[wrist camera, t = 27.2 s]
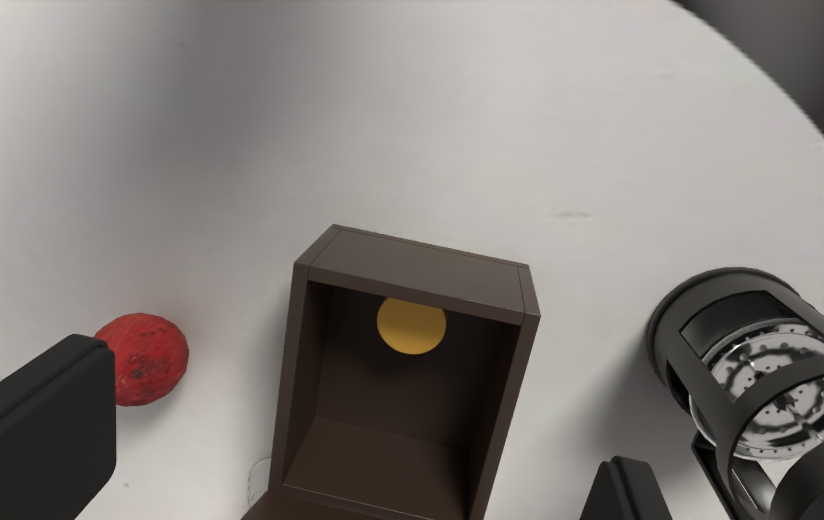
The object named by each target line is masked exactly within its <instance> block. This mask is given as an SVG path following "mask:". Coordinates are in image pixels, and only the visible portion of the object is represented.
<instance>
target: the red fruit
mask: <svg viewBox="0 0 824 520" xmlns="http://www.w3.org/2000/svg"><path fill="white" fill-rule="evenodd" d="M94 338H97V339H101V340H104V341H106V342H107V344H108V347H109V349H110V350H112V351H114V353H115V376H116V405H120V406H126V407H127V406H140V405H146V404H149V403H151V402H153V401H155V400H157V399H160V398H162V397H164V396H165V395H167V394H168V393H169V392H171V391H172V390H173V389H174V387H175V386H176V385H177V383H178V382H179V381H180V379H181V378H182V376H183V375H184V373H185V372H186V367H187V362H188V357H189V349H188V345H187V342H186V339H185V336H184V335H183V333H182V332H181V331H180V330H179V329H178V328H177V327H176V325H175V324H173V323H171V322H169V321H168V320H166V319H164V318H162V317H159V316H154V315H149V314H144V313H136V314H129V315H124V316H122V317H119V318H117V319H115V320H113V321H112V322H110V323H109V324H107V325H106V326H104V327H103V328H101V329H100V330H99V331H98V332H97V333H96V334H95V336H94Z"/></svg>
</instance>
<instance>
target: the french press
mask: <svg viewBox="0 0 824 520" xmlns="http://www.w3.org/2000/svg"><path fill="white" fill-rule="evenodd" d="M745 294H760V295H763V296H765V297H767V298H769V299H770V300H772V301H773V302H774V303H775V304H776V305H777V306H778V307H779V308H780V310H781V311H782V313H783V314H784V316H779V317H769V318H764V319H760V320H755V321H752V322H749V323H747V324H744V325H741V326H738V327H737V328H735V329H733V330H731V331H729V332H728V333H726V334H724V335H723V336H721V337H720V338H719V339H717V340H716V341H715V342H713V343H712V344H711V345H710V346H709V347H708V348H707V349H706V350H705V351H704V352H703V354H702V355H701V356H700V357H699V356H698V355H697V353H696V352H695V351H694V349H693V348H692V347H691V346H690V344H689V343H688V342H687V340H686V339H685V338H684V336H683V335H682V334H681V332H682V331H683V329H684V328H685V327H686V326H687V325H688V323H689V322H690V321H691V320H692V319H694V318H695V317H696V316H697V315H698V314H700V313H701V312H702V311H704V310H705V309H707V308H709V307H710V306H712V305H714V304H716V303H718V302H720V301H723V300H726V299H728V298H731V297H735V296H740V295H745ZM647 352H648V357H649V361H650V363H651V366H652V368H653V370H654V372H655V374H656V375H657V377H658V378H659V379H660V381H661V382H662V383H663V384H664V385H665V386H666V387H667V388H668V389H669V390H670V392H671V394H672V396H673V397H674V399H675V400H676V401H677V403H678V404H679V405H680V407H681V408H682V409H683V410H685V411H686V412H687V413H688V414H689V415H690V416H691V417H693V419H694V421H695V424H696V426H697V427H698V431H697V433H696V435H695V437H694V439H693V441H692V444H691V449H692V451H693V453H694V455H695V457H696V459H697V460H698V462H699V464H700V466H701V468H702V469H703V471H704V473H705V475H706V477H707V478H708V480H709V482H710V484H711V486H712V487H713V489H714V491H715V493H716V495H717V496H718V498H719V500H720V502H721V504H722V505H723V507H724V509H725V511H726V513H727V514H728V516H729V518H730V520H824V316H823V315H822V314H821V313H819V312H818V311H817V310H816V309H815V308H814V307H813V306H812V305H810V304H809V303H807V302H806V301H805V300H803V299H802V298H801V297H800V295H799V294H798V293H797V292H796V291H795V290H794V289H793V288H792V287H791V286H790V285H789V284H787V283H786V282H784V281H783V280H781V279H779V278H778V277H776V276H774V275H773V274H770V273H767V272H764V271H761V270H758V269H752V268H745V267H726V268H720V269H715V270H710V271H707V272H704V273H701V274H699V275H696V276H694V277H692V278H690V279H688V280H687V281H685V282H683V283H682V284H680V285H679V286H677V287H676V288H675V289H674V290H673V291H672V292H670V293H669V294H668V295H667V296H666V297H665V299H664V300H663V301H662V302H661V304H660V305H659V306H658V307H657V309H656V311H655V313H654V315H653V317H652V319H651V322H650V325H649V329H648V333H647ZM800 456H802V457H801V458H800V459H799V460H798V461H797V462H796V463H795V464H794V465H793V466H792V467H791V468H790V469H789V470H788V471H787V473H786V474H785V476H784V477H783V479H782V480H781V482H780V483H779V485H778V487H777V488H776V487H775V486H774V484H773V483H772V481H771V480H770V479H769V477H768V476H767V474H766V473H765V472H764V470H763V469H762V467H761V466H760V464H759V463H758V462H757V461H781V460H788V459H793V458H797V457H800ZM732 469H733V470H734V472H735V474H736V475H737V477H738V478H739V480H740V481H741V483H742V485H743V486H744V488H745V489H746V491H747V493H748V494H749V496H750V497H751V499H752V500H753V502H754V504H755V505H756V507H757V508H758V509H756V507H755V506H754V504H753V503H752V501H751V499H750V498H749V496H748V495H747V493H746V491H745V490H744V488H743V487H742V485H741V483H740V482H739V480H738V479H737V477H736V475H735V474H734V472H733V471H732Z"/></svg>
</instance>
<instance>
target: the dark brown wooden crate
mask: <svg viewBox="0 0 824 520" xmlns="http://www.w3.org/2000/svg"><path fill="white" fill-rule="evenodd" d="M384 297H389V298H394V299H398V300H403V301H408V302H412V303H417V304H421V305H426V306H431V307H435V308H440V309H445V310H449V313H448V320H447V327H446V332H445V335H444V337H443V339H442V340H441V342H440V343H439V344H438V345H437V346H436V347H434V348H433V349H431V350H430V351H427V352H425V353H421V354H406V353H402V352H399V351H397V350H395V349H393V348H392V347H390V346H389V345H388V344H387V343H386V342H385V341H384V339H383V338H382V336H381V335H380V333H379V330H378V327H377V314H378V311H379V308H380V306H381V304H382V301H383V299H384ZM540 318H541V314H540V310H539V306H538V302H537V297H536V293H535V289H534V285H533V281H532V277H531V273H530V269H529V265H526V264H522V263H517V262H512V261H507V260H503V259H498V258H493V257H488V256H483V255H479V254H474V253H469V252H464V251H460V250H455V249H450V248H445V247H440V246H436V245H431V244H426V243H421V242H417V241H412V240H407V239H402V238H397V237H393V236H388V235H383V234H378V233H374V232H369V231H364V230H359V229H354V228H350V227H345V226H340V225H335V224H333V225H332V226H331V227H329V228H328V229H327V230H326V231H325V232H324V233H323V234H322V235H321V236H320V237H319V238H318V239H317V240H316V241H315V242H314V243H313V244H312V245H311V246H310V247H309V248H308V249H307V250H306V251H305V252H304V253H303V254H302V255H301V256H300V257H299V258H298V259H297V260H296V261H295V262H294V267H293V276H292V284H291V293H290V301H289V310H288V319H287V327H286V336H285V344H284V353H283V361H282V370H281V379H280V387H279V396H278V404H277V413H276V421H275V430H274V438H273V447H272V456H271V464H270V473H269V481H268V490H267V491H268V492H272V493H276V494H280V493H281V495H285V496H289V497H293V498H297V499H302V500H306V501H310V502H314V503H318V504H323V505H327V506H331V507H335V508H339V509H344V510H348V511H352V512H356V513H360V514H365V515H369V516H373V517H377V518H381V519H386V520H483V519H484V515H485V512H486V508H487V505H488V501H489V498H490V494H491V491H492V487H493V484H494V480H495V477H496V473H497V470H498V466H499V462H500V459H501V455H502V452H503V448H504V445H505V441H506V438H507V434H508V431H509V427H510V424H511V420H512V417H513V413H514V409H515V406H516V402H517V399H518V395H519V392H520V388H521V385H522V381H523V378H524V374H525V371H526V367H527V364H528V360H529V356H530V353H531V349H532V346H533V342H534V339H535V335H536V332H537V328H538V325H539V321H540Z"/></svg>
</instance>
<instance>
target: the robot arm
mask: <svg viewBox="0 0 824 520" xmlns="http://www.w3.org/2000/svg"><path fill="white" fill-rule="evenodd" d="M115 466H116V376H115V353H114V351H112V350H110V349H109V347H108V344H107V342H106V341H104V340H101V339H97V338H92V337H88V336H84V335H79V334H72V335H69V336H67V337H66V338H64V339H63V340H61V341H60V342H58V343H57V344H55V345H54V346H53V347H51V348H50V349H48V350H47V351H45V352H44V353H42V354H41V355H39V356H38V357H36V358H35V359H33V360H32V361H30V362H29V363H27V364H26V365H24V366H23V367H21V368H20V369H18V370H17V371H15V372H14V373H12V374H11V375H9V376H8V377H6V378H5V379H3V380H2V381H0V520H74V519H75V518H76V517H77V516H78V515H79V514H80V513H81V511H82V510H83V509H84V508H85V507H86V506H87V505H88V504H89V502H90V501H91V500H92V499H93V498H94V497H95V496H96V495H97V493H98V492H99V491H100V490H101V489H102V488H103V487H104V485H105V484H106V483H107V482H108V481H109V479H110V478H111V476H112V474H113V472H114V470H115ZM580 520H672V517H671V515H670V512H669V510H668V507H667V505H666V503H665V500H664V498H663V495H662V493H661V490H660V488H659V485H658V483H657V481H656V478H655V476H654V473H653V471H652V468H651V467H650V465H649V464H648V463H647V462H643V461H639V460H635V459H630V458H626V457H621V456H614V457H613V458H612V459H611V461H610V462H606V461H603V462H602V463H601V464H600V466H599V469H598V471H597V474H596V477H595V479H594V482H593V485H592V487H591V490H590V493H589V495H588V498H587V501H586V503H585V506H584V509H583V512H582V514H581V517H580Z"/></svg>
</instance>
